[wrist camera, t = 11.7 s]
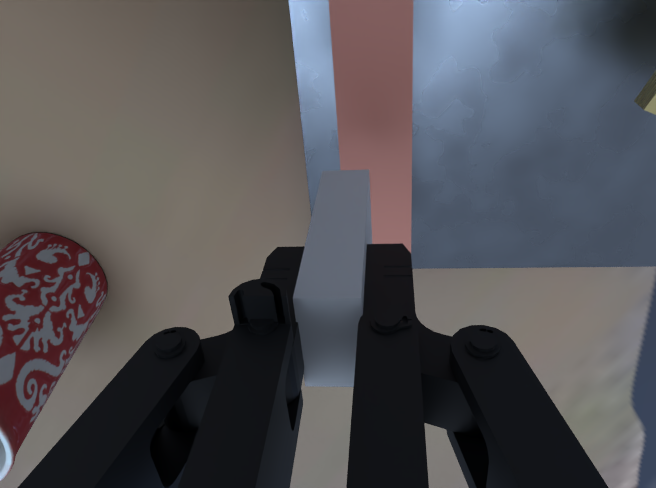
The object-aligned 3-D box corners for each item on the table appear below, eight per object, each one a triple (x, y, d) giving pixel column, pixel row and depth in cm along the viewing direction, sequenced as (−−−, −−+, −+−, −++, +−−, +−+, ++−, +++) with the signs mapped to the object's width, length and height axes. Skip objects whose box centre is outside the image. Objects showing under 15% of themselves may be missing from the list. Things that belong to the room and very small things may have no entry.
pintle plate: (241, -369, 20) (233, -384, 19) (927, -472, 17) (963, -496, 16) (311, 258, 35) (308, 270, 34) (683, 254, 32) (694, 267, 31)
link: (428, 214, 31) (435, 264, 27) (331, 216, 32) (323, 265, 28) (441, -209, 21) (454, -233, 17) (297, -194, 22) (276, -212, 17)
